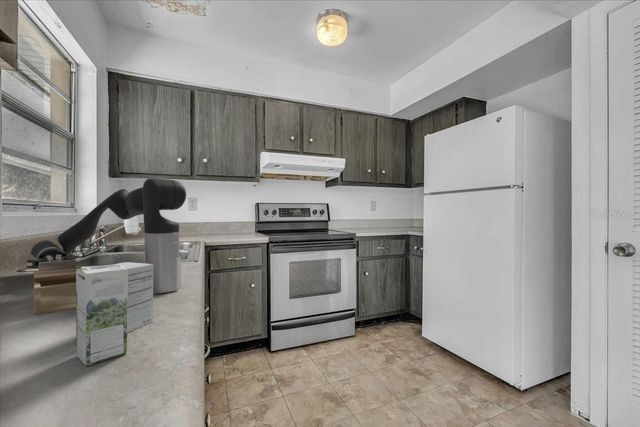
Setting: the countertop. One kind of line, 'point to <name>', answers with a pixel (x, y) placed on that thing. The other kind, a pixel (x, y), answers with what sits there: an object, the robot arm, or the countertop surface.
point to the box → (54, 295)
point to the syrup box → (101, 313)
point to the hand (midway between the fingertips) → (55, 265)
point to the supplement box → (139, 294)
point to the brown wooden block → (55, 270)
